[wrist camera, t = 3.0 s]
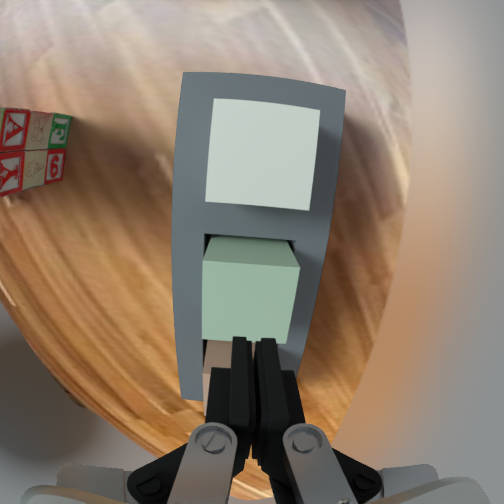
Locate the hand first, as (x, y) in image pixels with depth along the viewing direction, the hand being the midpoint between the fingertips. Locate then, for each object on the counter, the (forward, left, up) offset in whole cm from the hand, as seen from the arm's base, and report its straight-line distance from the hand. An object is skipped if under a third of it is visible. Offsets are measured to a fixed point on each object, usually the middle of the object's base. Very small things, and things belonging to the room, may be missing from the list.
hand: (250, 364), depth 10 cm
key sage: (0, 0, -10) cm, 10 cm away
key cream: (-8, 0, -10) cm, 12 cm away
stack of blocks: (-10, -27, -13) cm, 32 cm away
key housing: (0, 0, -13) cm, 13 cm away
